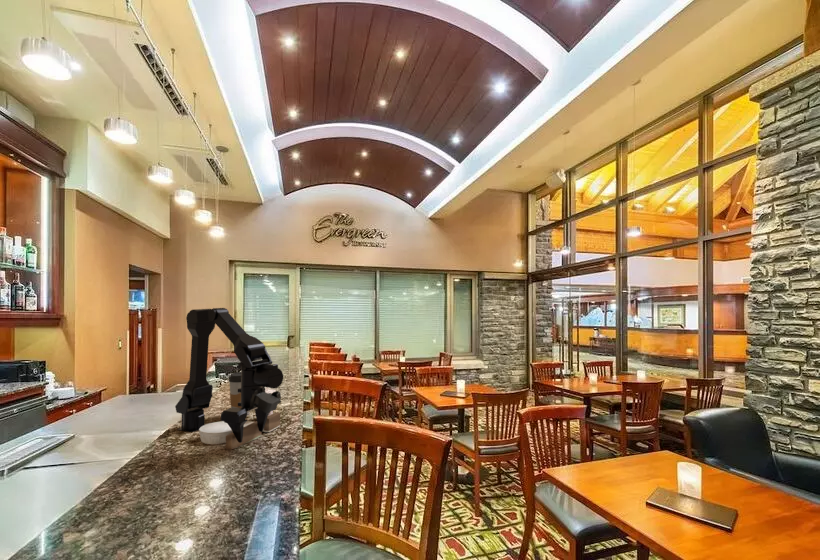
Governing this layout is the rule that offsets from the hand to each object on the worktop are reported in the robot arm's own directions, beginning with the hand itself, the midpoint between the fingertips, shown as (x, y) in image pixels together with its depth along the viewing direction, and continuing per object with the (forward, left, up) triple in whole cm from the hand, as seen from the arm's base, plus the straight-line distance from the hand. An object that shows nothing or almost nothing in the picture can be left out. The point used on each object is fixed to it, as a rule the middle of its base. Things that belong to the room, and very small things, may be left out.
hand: (250, 436), depth 122 cm
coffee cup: (-23, +23, -3) cm, 33 cm away
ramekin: (-11, 0, -4) cm, 12 cm away
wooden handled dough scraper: (-9, 0, -2) cm, 10 cm away
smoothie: (-11, +22, -3) cm, 25 cm away
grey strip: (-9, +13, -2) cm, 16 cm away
